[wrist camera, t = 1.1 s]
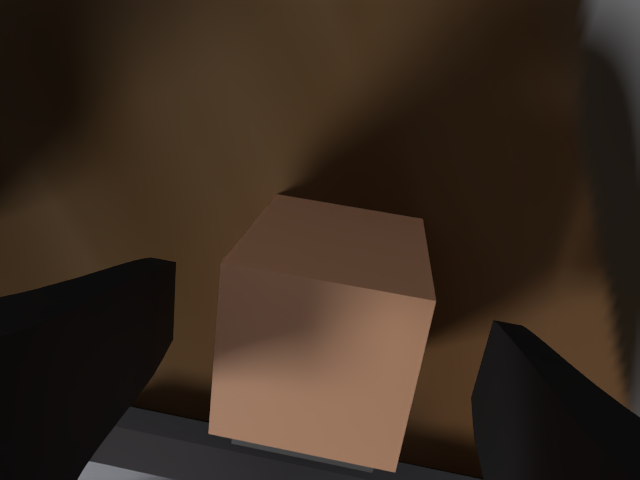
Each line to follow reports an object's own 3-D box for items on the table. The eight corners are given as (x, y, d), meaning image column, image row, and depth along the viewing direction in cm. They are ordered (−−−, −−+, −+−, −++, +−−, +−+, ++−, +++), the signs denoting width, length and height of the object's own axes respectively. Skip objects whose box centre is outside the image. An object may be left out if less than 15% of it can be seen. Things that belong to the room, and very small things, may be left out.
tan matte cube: (277, 193, 14) (220, 262, 10) (422, 218, 14) (436, 301, 9) (261, 338, 16) (206, 455, 11) (391, 363, 16) (390, 495, 11)
